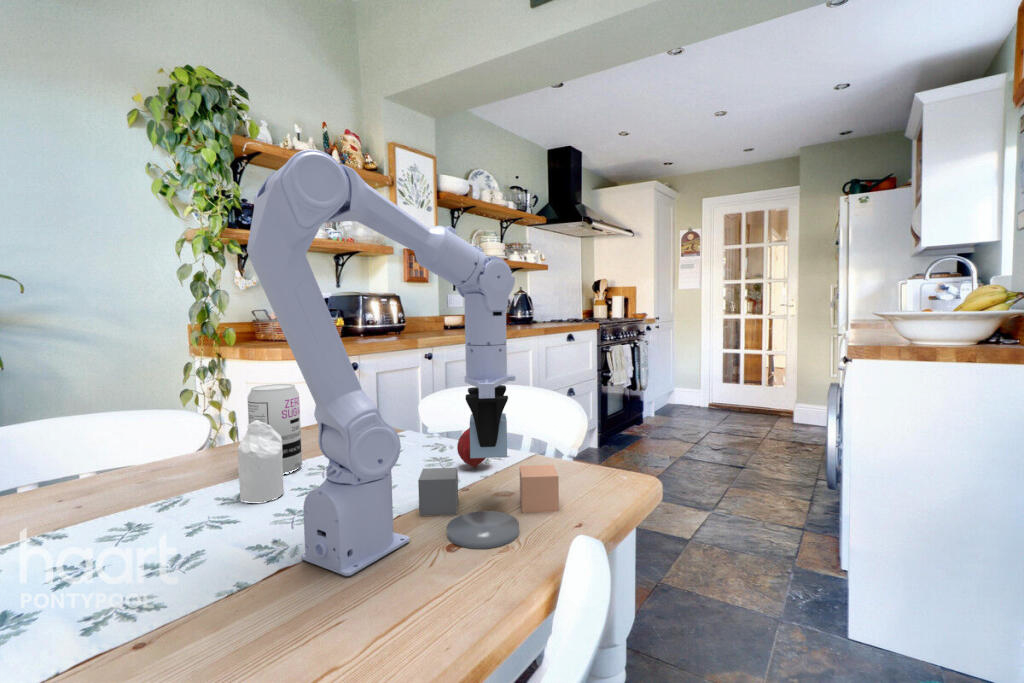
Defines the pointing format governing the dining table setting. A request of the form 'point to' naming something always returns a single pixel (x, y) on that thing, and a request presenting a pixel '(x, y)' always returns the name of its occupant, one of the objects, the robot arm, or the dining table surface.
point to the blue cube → (489, 452)
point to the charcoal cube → (438, 491)
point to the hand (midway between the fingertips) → (487, 441)
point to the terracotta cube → (539, 488)
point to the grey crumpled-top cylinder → (260, 463)
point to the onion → (467, 450)
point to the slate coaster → (483, 529)
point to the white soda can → (279, 418)
